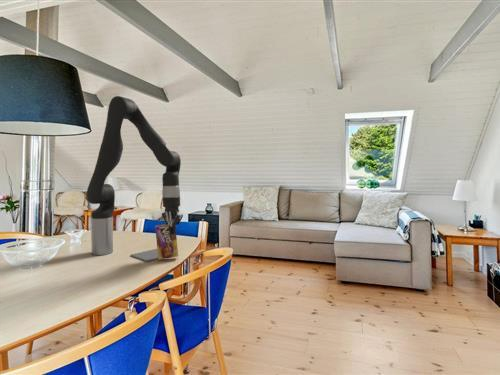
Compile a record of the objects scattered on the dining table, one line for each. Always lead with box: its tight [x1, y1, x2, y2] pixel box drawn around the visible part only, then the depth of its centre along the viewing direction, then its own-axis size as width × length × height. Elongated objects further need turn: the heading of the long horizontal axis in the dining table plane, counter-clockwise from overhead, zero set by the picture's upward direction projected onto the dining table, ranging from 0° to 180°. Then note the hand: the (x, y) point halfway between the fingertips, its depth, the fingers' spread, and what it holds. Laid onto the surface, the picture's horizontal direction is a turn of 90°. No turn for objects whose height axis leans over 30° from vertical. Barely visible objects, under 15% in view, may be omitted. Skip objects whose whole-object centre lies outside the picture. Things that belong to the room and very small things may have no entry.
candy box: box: [155, 223, 179, 260], centre depth 130 cm, size 9×4×15 cm, turn 108°
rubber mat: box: [130, 248, 158, 263], centre depth 136 cm, size 14×16×1 cm
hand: (172, 234), depth 128 cm, fingers closed
